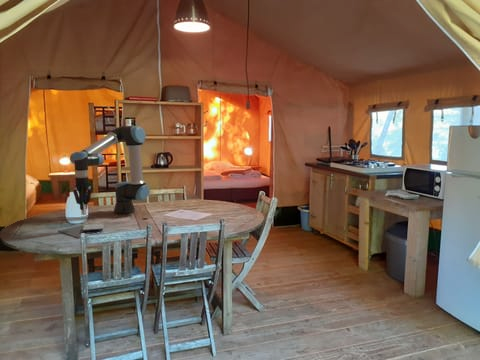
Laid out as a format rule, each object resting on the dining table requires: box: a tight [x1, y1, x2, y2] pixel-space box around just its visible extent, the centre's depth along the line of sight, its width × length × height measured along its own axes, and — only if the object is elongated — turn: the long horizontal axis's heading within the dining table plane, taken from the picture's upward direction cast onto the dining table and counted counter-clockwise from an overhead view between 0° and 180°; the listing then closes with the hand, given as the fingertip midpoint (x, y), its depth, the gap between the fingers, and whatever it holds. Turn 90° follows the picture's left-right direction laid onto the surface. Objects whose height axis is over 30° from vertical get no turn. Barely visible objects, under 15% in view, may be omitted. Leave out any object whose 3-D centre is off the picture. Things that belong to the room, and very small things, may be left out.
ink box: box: [83, 223, 104, 232], centre depth 231 cm, size 12×2×12 cm
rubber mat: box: [57, 224, 103, 239], centre depth 230 cm, size 16×22×1 cm
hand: (83, 214), depth 231 cm, fingers closed
